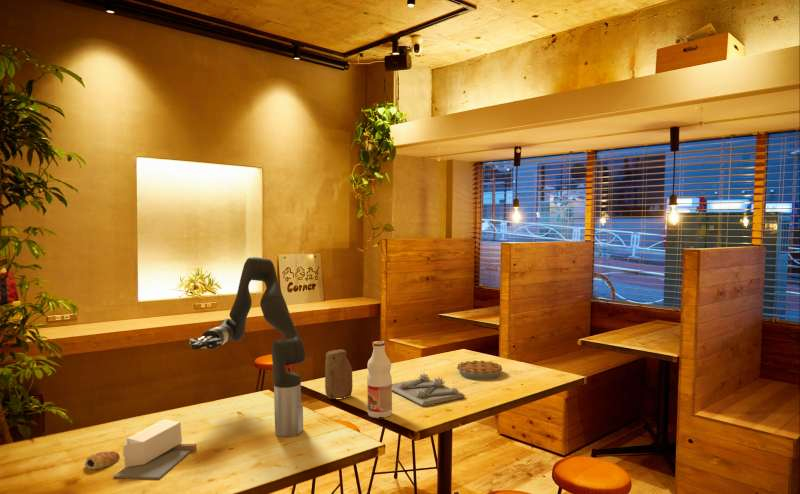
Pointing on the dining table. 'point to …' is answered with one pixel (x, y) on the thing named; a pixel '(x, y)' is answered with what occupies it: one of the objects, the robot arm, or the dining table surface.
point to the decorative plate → (426, 391)
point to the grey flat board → (157, 464)
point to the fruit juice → (379, 382)
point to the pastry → (101, 460)
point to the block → (338, 374)
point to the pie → (479, 369)
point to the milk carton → (151, 442)
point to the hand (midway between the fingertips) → (194, 347)
